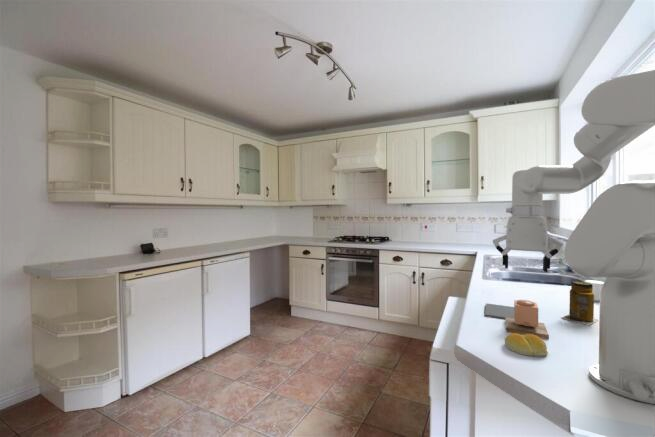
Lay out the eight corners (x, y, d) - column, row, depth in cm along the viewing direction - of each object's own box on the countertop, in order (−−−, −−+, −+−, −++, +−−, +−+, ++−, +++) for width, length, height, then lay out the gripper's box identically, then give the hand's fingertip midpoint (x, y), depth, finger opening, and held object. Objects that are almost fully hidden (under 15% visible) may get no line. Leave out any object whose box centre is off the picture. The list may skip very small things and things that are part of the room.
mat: (535, 323, 93) (535, 321, 93) (484, 316, 100) (484, 314, 100) (530, 311, 105) (531, 309, 105) (486, 304, 112) (486, 303, 112)
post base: (548, 339, 81) (548, 335, 81) (506, 332, 86) (506, 328, 86) (543, 327, 90) (544, 323, 90) (505, 321, 95) (505, 317, 95)
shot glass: (580, 297, 122) (580, 280, 121) (589, 295, 124) (589, 279, 124) (601, 302, 115) (601, 284, 115) (610, 300, 118) (610, 282, 118)
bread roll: (501, 341, 81) (501, 326, 81) (539, 345, 78) (539, 330, 78) (510, 355, 73) (510, 339, 73) (553, 360, 70) (553, 343, 70)
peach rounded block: (538, 328, 84) (538, 306, 84) (515, 324, 87) (515, 303, 86) (535, 320, 90) (535, 300, 90) (513, 317, 93) (514, 297, 93)
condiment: (598, 320, 96) (599, 283, 96) (589, 325, 91) (590, 287, 91) (570, 313, 102) (571, 279, 102) (560, 318, 97) (561, 282, 97)
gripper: (492, 212, 89) (491, 268, 89) (566, 212, 80) (564, 275, 81) (493, 211, 95) (492, 264, 96) (561, 212, 87) (559, 270, 87)
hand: (525, 269), depth 88 cm, fingers open, 9 cm apart
